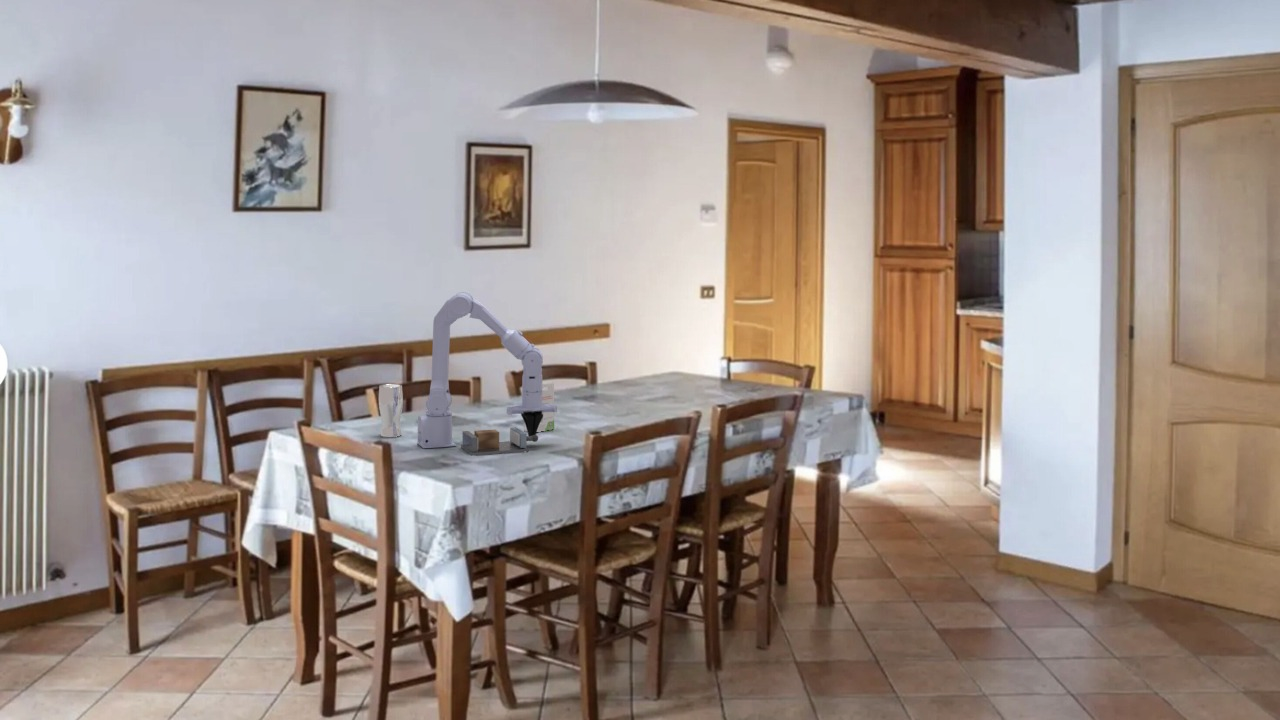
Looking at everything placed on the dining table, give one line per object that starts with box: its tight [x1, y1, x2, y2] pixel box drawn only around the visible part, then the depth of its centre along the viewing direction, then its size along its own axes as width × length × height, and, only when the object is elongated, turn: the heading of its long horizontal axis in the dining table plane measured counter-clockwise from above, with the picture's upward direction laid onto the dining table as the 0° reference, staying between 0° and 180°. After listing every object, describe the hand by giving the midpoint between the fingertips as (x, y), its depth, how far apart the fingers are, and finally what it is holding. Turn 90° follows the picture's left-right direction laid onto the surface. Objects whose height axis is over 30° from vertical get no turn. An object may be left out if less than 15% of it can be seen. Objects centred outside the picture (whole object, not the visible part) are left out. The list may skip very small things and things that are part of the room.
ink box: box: [524, 382, 555, 433], centre depth 348 cm, size 9×5×15 cm, turn 141°
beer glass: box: [378, 383, 404, 438], centre depth 336 cm, size 7×7×15 cm
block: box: [473, 429, 500, 449], centre depth 318 cm, size 6×4×4 cm, turn 114°
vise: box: [460, 430, 529, 456], centre depth 319 cm, size 16×12×5 cm
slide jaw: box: [509, 426, 539, 448], centre depth 323 cm, size 6×10×4 cm, turn 24°
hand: (531, 438), depth 326 cm, fingers closed
